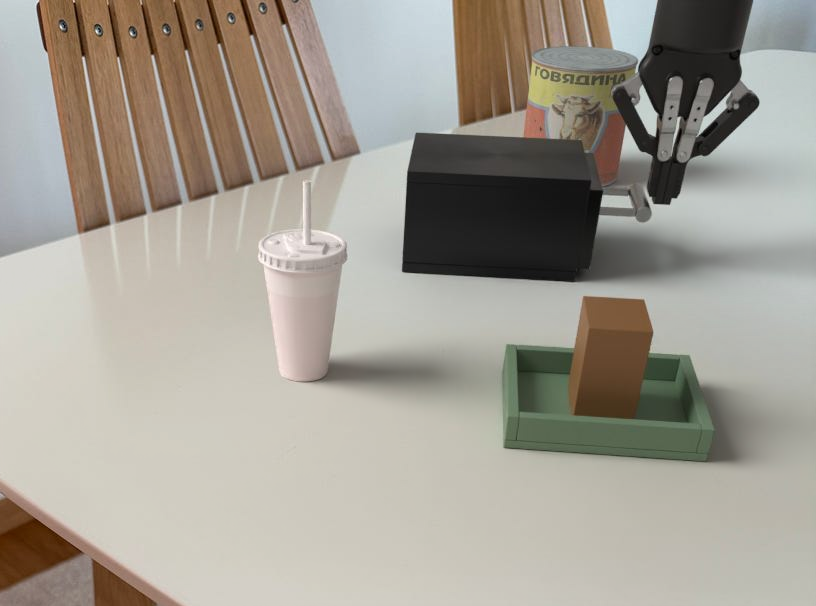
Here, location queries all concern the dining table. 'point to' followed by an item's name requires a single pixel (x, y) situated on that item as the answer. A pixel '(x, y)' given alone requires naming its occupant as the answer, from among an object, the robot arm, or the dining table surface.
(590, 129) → the canned food
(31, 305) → the dining table surface
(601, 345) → the block
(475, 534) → the dining table surface
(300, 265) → the smoothie
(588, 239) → the pull-out drawer box
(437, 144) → the black box
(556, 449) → the tray
